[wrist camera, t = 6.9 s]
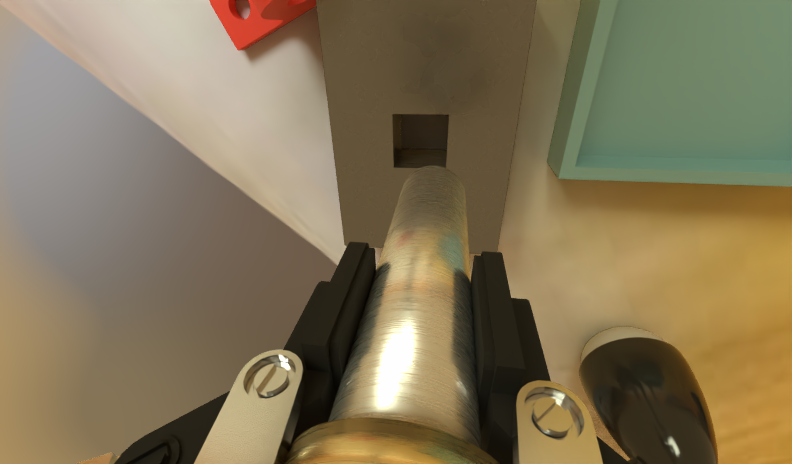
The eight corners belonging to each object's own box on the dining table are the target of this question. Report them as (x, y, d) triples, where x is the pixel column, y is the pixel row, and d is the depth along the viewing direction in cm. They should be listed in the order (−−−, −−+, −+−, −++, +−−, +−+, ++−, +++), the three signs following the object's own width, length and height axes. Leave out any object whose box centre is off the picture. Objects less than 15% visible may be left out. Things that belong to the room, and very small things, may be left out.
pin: (390, 153, 15) (231, 474, 4) (481, 156, 15) (556, 528, 4) (391, 229, 18) (286, 577, 7) (471, 234, 17) (502, 621, 6)
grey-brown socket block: (336, -7, 26) (314, -13, 22) (525, -15, 25) (540, -23, 20) (357, 219, 37) (344, 245, 33) (491, 227, 35) (496, 255, 31)
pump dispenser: (560, 322, 40) (609, 464, 27) (663, 303, 37) (775, 455, 24) (576, 377, 44) (625, 522, 31) (669, 365, 41) (768, 522, 28)
